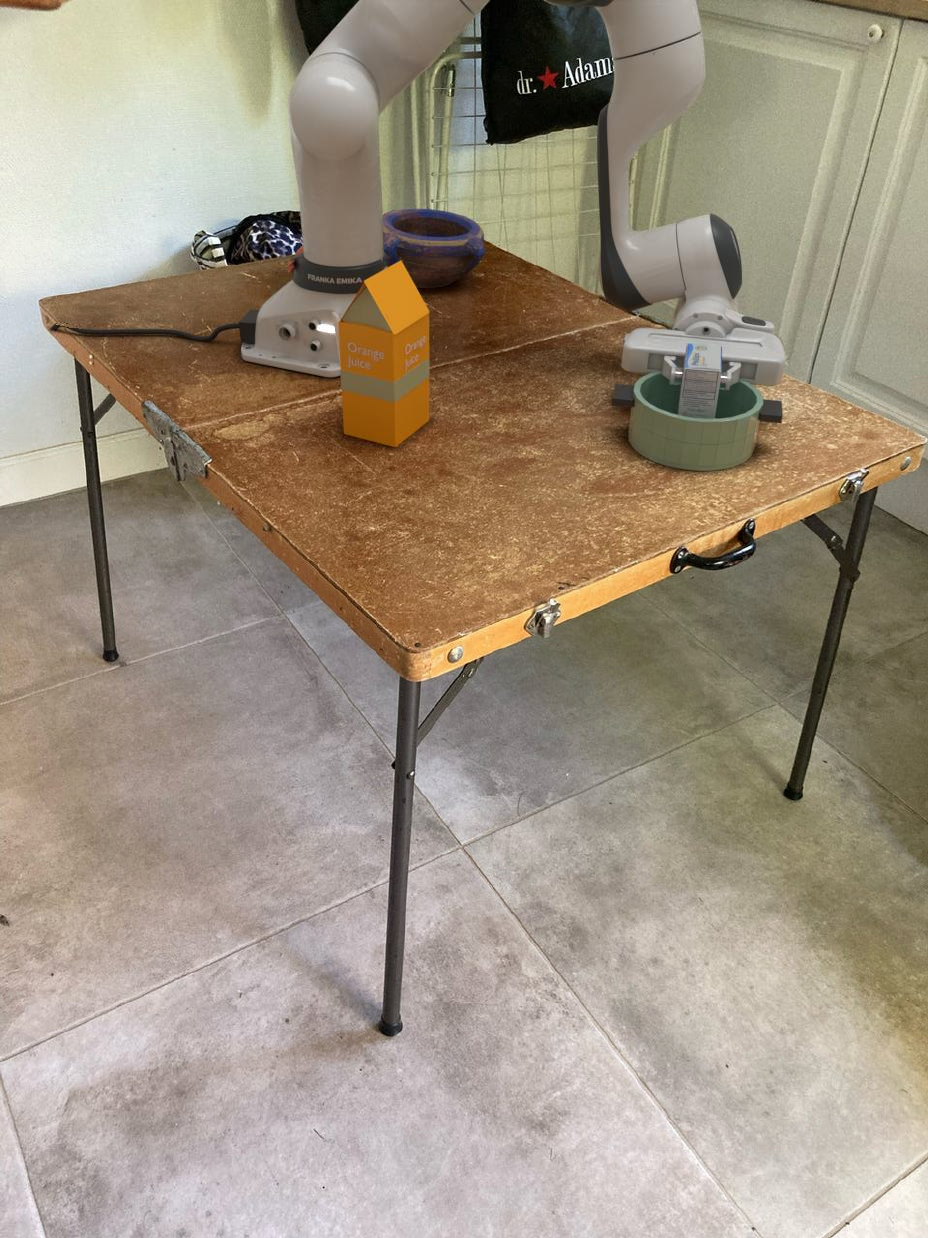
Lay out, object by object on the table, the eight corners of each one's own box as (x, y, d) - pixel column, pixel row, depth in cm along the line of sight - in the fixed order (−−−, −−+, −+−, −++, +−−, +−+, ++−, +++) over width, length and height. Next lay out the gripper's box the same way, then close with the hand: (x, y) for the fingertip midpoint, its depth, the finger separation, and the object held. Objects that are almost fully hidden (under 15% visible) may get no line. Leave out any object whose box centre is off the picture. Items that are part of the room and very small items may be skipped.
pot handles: (611, 405, 131) (612, 397, 131) (615, 391, 135) (615, 383, 134) (781, 423, 128) (782, 415, 128) (780, 408, 132) (781, 400, 131)
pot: (622, 462, 129) (628, 413, 126) (633, 408, 142) (639, 362, 138) (753, 477, 127) (763, 427, 123) (753, 421, 139) (762, 374, 135)
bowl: (485, 298, 175) (486, 236, 169) (374, 297, 174) (373, 235, 168) (481, 263, 189) (483, 205, 183) (379, 262, 189) (378, 203, 183)
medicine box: (711, 437, 129) (723, 370, 124) (674, 433, 130) (684, 366, 125) (712, 409, 136) (723, 344, 130) (677, 406, 136) (686, 341, 131)
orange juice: (342, 433, 134) (334, 275, 122) (378, 407, 141) (374, 254, 129) (396, 447, 131) (393, 287, 120) (430, 420, 138) (431, 265, 126)
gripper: (627, 309, 141) (617, 348, 130) (786, 323, 138) (789, 365, 127) (622, 354, 145) (612, 396, 134) (777, 369, 141) (779, 414, 131)
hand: (700, 381), depth 130 cm, fingers closed on medicine box, 4 cm apart
